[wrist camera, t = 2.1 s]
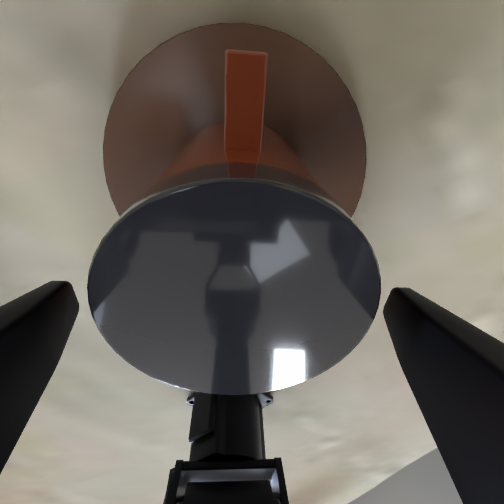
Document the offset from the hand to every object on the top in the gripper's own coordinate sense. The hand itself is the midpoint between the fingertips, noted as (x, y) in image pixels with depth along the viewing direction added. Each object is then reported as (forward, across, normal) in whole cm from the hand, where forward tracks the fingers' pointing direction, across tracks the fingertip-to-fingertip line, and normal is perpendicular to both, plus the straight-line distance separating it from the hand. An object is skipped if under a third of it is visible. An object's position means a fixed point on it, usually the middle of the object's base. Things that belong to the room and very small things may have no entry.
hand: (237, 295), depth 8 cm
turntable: (+10, 0, 0) cm, 10 cm away
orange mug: (+8, 0, -1) cm, 8 cm away
